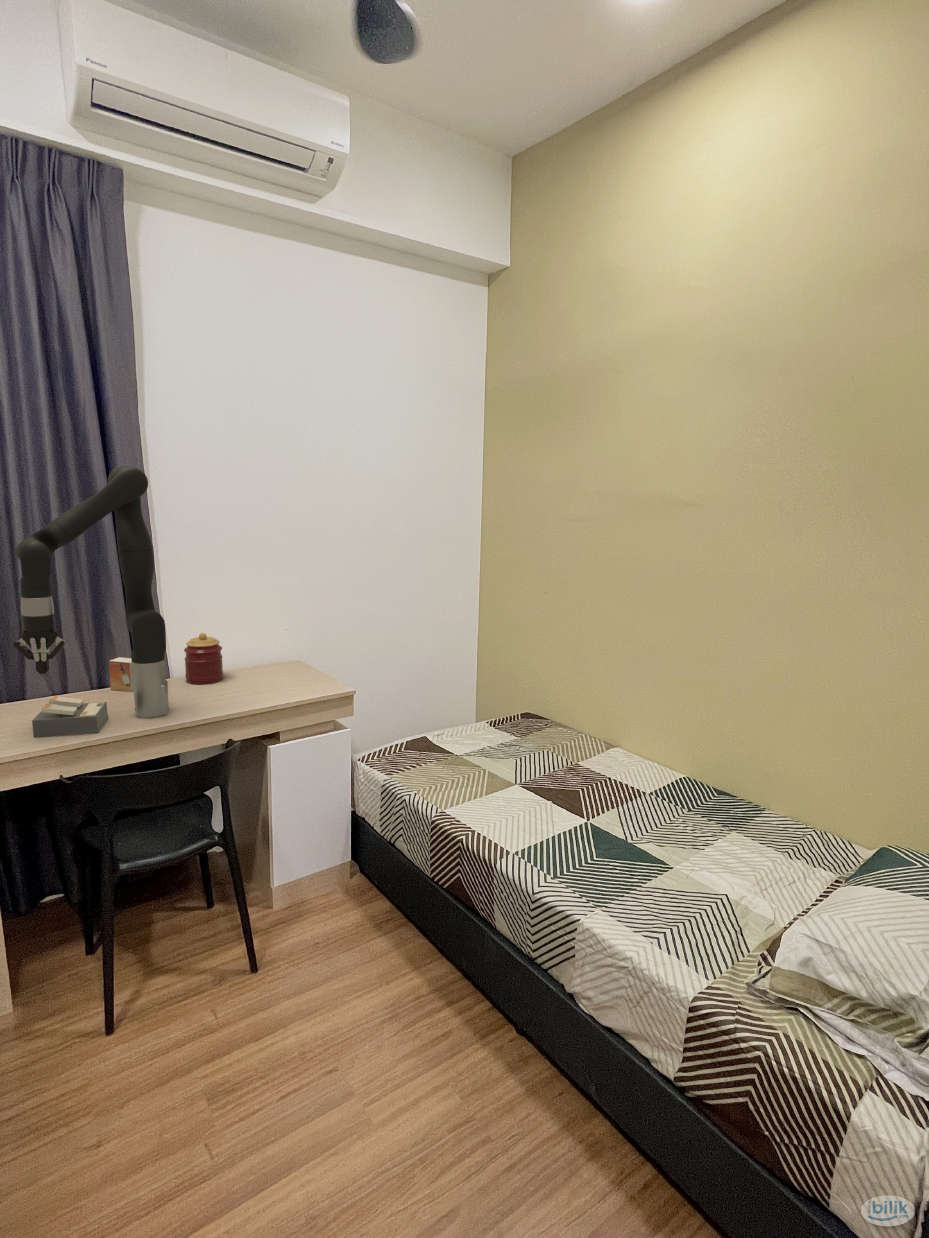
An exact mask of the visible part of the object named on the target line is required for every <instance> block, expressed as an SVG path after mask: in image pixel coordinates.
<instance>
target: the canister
mask: <svg viewBox="0 0 929 1238" xmlns="http://www.w3.org/2000/svg"><path fill="white" fill-rule="evenodd" d="M185 645H186V647H184V649H183V651H184V653H185V657H184V661H185V663H184V668H185V674H184V675H185V681H186V682H187V683H189V684H192V685H210V684H216V683H219V682H221V681H222V680H223V678H224V671H223V667H224V666H223V655H222V653H221V652H222V650H223V646H222V645H220V641H219V640H218V639H217V638H215V637H212V636H207V634H206V633H204V632H201V633H199V635H198V637H193V638H191V639H190V640H188V641H186V643H185Z"/></svg>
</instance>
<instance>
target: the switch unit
mask: <svg viewBox="0 0 929 1238" xmlns="http://www.w3.org/2000/svg"><path fill="white" fill-rule="evenodd" d="M61 706H64V705H61ZM70 707H73V706H70ZM108 715H109V714H108V703H107V701H102V702H86V703H85V702H83V704H82V705H81V706H80V707H77V711H76V713H75V714H74V715H65V714H56V713H48V712H41V711H40V712H39V713H38V714H37V715H36V716H35V717H33V719H32V720H31V723H32V733H33V738H35V739H36V738H48V737H59V736H60V737H62V736H63V737H64V736H77V735H91V734H99V732H100V731H101V730H102V727H103V726H104V725H105V723H106V721H107V720H108V717H109V716H108Z"/></svg>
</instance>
